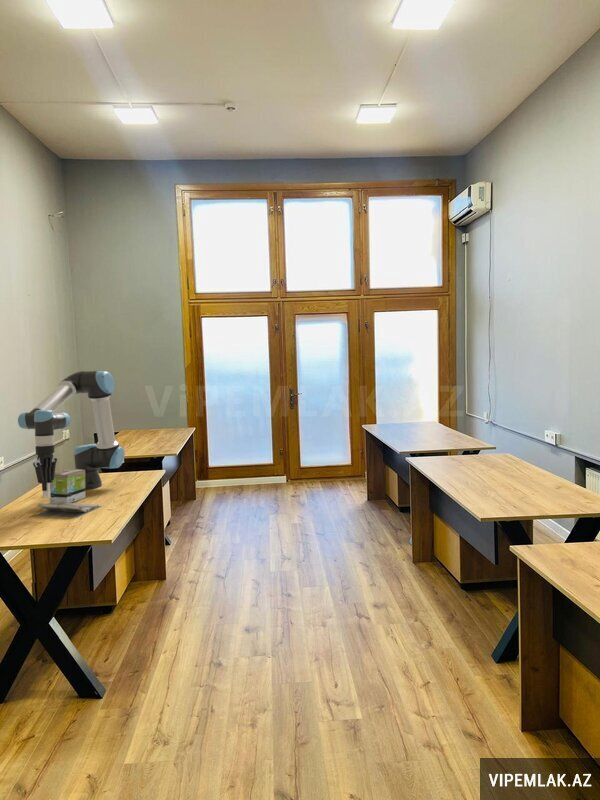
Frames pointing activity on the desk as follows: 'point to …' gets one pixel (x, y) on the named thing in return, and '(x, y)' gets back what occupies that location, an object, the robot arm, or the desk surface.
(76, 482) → the tea box
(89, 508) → the laid board
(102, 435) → the robot arm
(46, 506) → the plank
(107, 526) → the desk surface
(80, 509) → the plank
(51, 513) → the grey framed panel
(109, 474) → the desk surface
